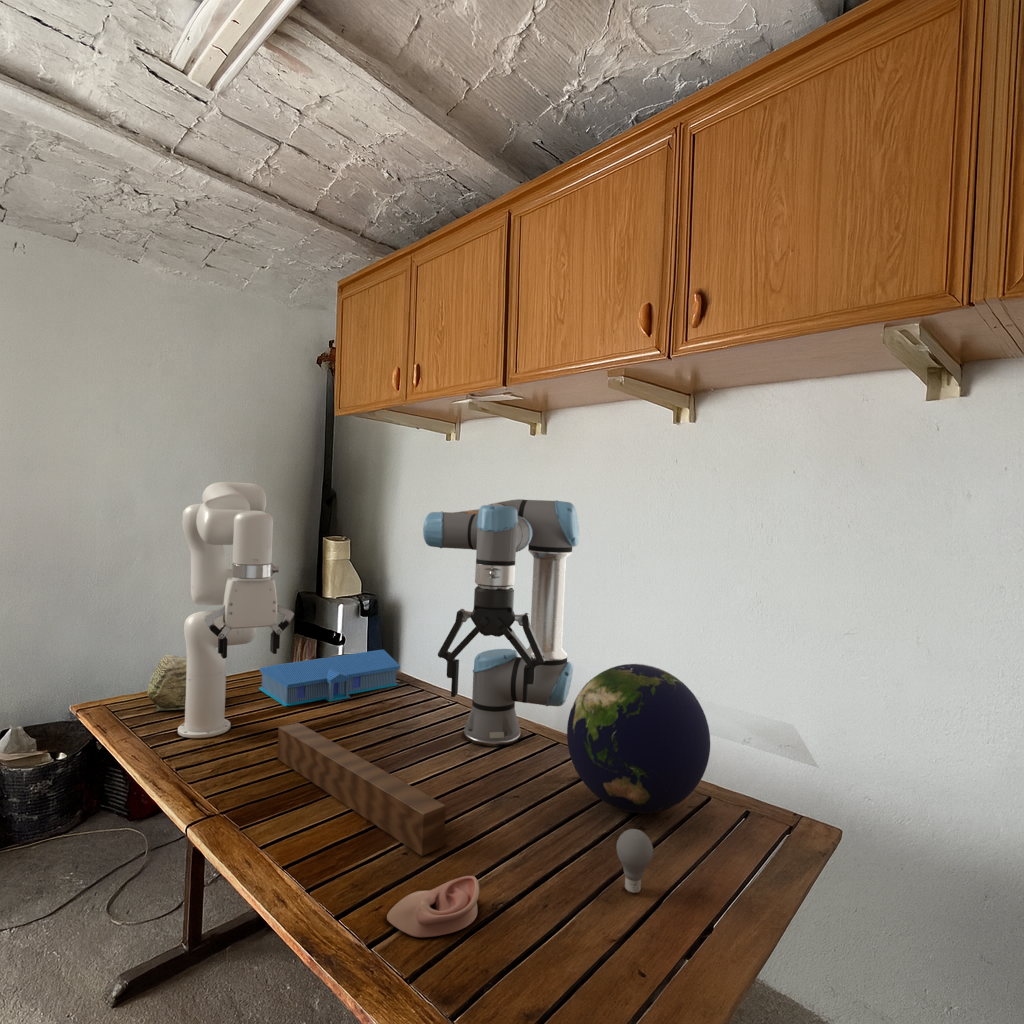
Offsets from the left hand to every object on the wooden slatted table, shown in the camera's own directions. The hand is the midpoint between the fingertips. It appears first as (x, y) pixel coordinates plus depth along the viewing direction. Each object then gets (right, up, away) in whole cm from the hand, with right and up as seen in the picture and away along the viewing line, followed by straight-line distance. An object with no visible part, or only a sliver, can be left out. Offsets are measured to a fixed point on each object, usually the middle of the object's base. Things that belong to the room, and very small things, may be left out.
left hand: (249, 654), depth 131 cm
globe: (+80, -34, +5) cm, 87 cm away
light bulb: (+74, -34, -25) cm, 86 cm away
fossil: (-42, -27, +54) cm, 73 cm away
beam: (+20, -31, +4) cm, 37 cm away
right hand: (+50, -6, -11) cm, 51 cm away
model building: (-5, -29, +77) cm, 82 cm away
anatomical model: (+42, -33, -33) cm, 63 cm away
